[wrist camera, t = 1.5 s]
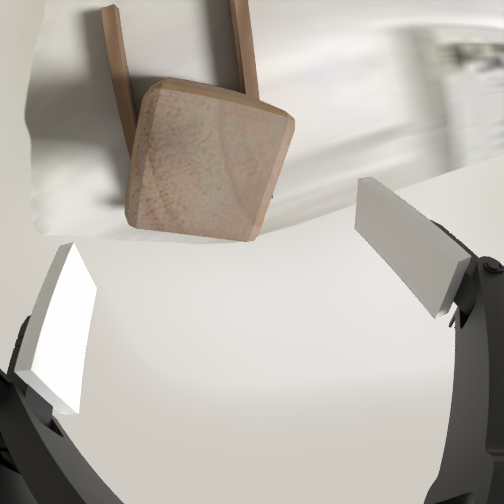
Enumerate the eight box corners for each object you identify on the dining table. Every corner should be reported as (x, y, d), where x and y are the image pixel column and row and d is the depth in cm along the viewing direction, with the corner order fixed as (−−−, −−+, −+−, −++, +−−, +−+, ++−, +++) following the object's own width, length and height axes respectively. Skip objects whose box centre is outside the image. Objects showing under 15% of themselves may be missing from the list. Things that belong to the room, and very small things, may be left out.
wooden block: (241, 91, 33) (305, 118, 17) (220, 164, 38) (259, 248, 22) (161, 75, 30) (145, 81, 14) (145, 152, 35) (121, 232, 19)
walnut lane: (239, -13, 25) (249, -23, 21) (262, 183, 41) (272, 198, 37) (106, 12, 23) (96, 5, 19) (149, 208, 39) (146, 226, 35)
